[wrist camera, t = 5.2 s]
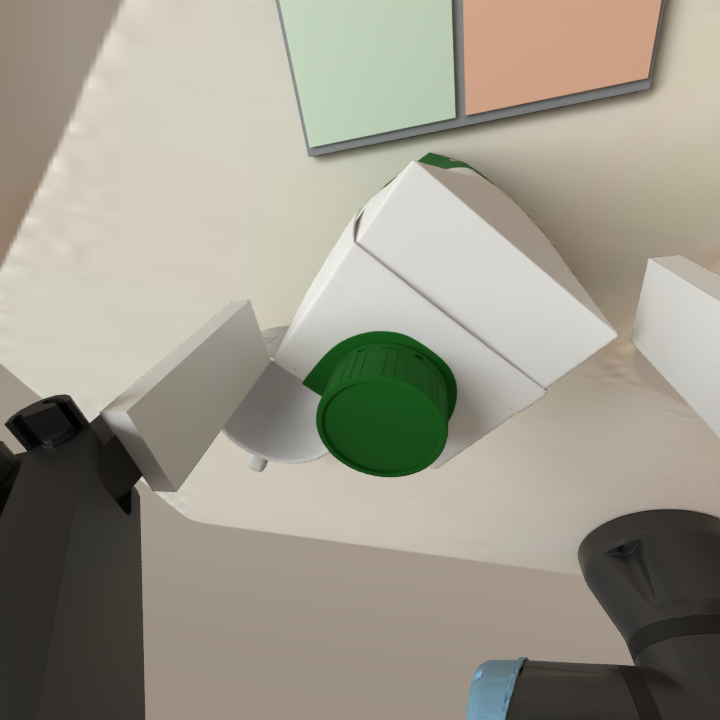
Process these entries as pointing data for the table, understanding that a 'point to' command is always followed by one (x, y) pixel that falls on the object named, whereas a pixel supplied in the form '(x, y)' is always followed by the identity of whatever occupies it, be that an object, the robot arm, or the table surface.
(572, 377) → the table surface
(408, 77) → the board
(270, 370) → the teacup
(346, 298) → the soya milk
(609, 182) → the table surface
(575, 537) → the table surface
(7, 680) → the robot arm
